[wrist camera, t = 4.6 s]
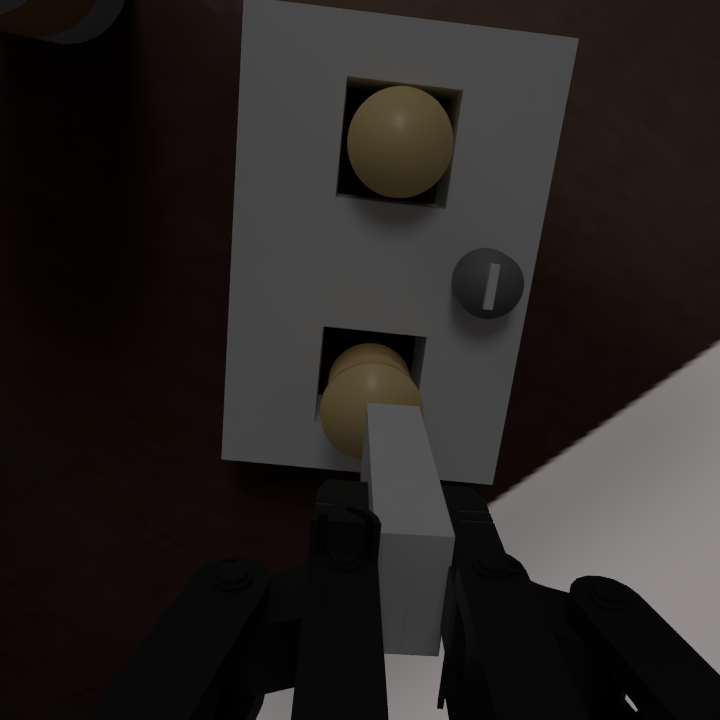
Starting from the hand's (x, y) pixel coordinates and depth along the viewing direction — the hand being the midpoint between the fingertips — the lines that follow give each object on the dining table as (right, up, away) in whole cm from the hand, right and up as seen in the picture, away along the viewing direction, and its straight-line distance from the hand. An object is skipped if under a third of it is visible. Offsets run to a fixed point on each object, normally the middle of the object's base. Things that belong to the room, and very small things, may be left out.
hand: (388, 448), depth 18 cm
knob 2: (0, +1, +12) cm, 12 cm away
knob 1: (+1, +13, +12) cm, 17 cm away
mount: (0, +8, +15) cm, 17 cm away
